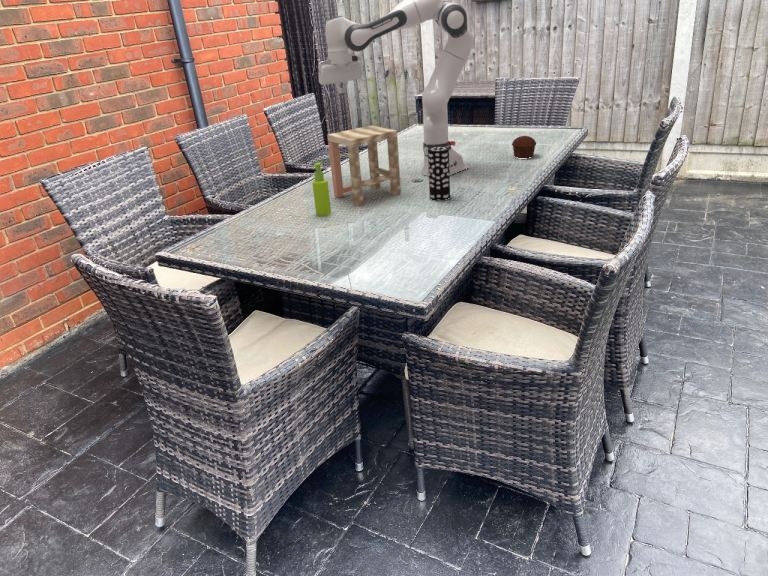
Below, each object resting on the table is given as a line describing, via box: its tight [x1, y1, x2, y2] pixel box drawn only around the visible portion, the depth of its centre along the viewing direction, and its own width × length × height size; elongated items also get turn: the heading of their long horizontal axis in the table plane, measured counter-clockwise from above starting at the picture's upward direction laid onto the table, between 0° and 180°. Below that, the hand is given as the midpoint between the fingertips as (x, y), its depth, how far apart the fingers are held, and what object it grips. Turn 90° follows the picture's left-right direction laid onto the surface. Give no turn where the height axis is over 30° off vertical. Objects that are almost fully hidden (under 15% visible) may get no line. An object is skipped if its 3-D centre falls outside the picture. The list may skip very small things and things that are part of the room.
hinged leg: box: [327, 141, 352, 199], centre depth 246 cm, size 13×3×23 cm, turn 126°
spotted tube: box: [428, 146, 451, 201], centre depth 234 cm, size 8×8×20 cm
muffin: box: [511, 135, 537, 158], centre depth 284 cm, size 12×11×10 cm
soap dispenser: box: [311, 161, 332, 217], centre depth 228 cm, size 6×7×20 cm
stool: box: [326, 125, 402, 207], centre depth 242 cm, size 22×18×26 cm
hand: (342, 93), depth 253 cm, fingers closed
